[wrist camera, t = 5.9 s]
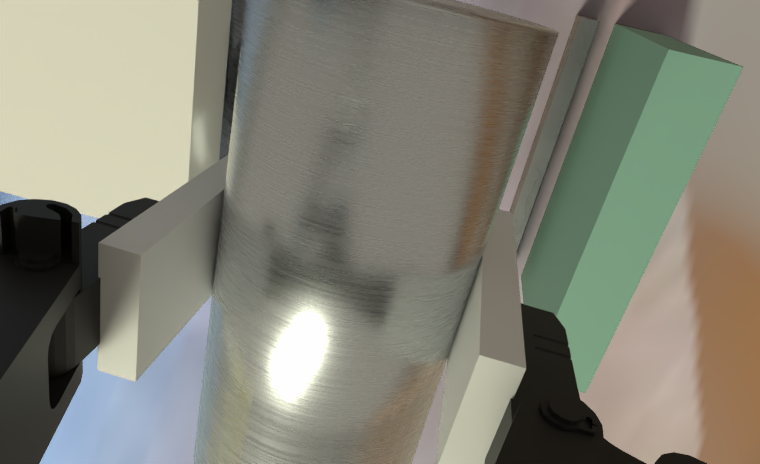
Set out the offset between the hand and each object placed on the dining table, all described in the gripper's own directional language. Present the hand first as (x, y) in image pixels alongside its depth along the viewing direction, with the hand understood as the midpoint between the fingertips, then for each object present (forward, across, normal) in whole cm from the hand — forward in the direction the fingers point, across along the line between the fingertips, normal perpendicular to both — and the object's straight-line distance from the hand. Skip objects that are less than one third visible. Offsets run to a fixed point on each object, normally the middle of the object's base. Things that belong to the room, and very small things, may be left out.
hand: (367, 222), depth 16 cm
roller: (0, -1, 0) cm, 1 cm away
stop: (+16, +9, -1) cm, 18 cm away
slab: (+10, -16, -2) cm, 19 cm away
